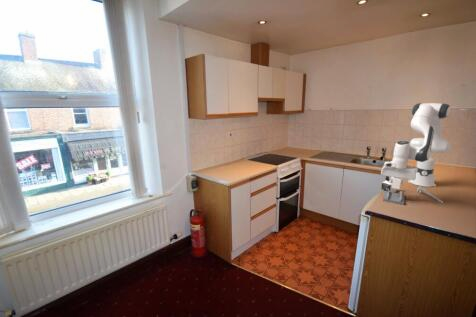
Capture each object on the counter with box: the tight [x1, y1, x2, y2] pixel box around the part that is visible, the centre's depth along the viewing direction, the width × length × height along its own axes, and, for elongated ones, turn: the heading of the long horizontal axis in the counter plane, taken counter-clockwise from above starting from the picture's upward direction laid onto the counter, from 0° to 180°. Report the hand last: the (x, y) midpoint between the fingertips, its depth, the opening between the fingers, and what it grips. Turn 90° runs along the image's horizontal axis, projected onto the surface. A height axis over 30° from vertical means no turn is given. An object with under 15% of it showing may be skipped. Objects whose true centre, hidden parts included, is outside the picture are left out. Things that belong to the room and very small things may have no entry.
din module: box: [392, 177, 402, 190], centre depth 160 cm, size 8×4×7 cm, turn 144°
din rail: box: [386, 189, 403, 202], centre depth 162 cm, size 18×8×2 cm, turn 144°
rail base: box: [382, 191, 405, 206], centre depth 162 cm, size 18×12×2 cm, turn 144°
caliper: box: [416, 185, 445, 204], centre depth 164 cm, size 20×1×6 cm, turn 5°
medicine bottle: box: [380, 176, 397, 193], centre depth 175 cm, size 7×7×12 cm
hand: (396, 183), depth 160 cm, fingers closed on din module, 4 cm apart
